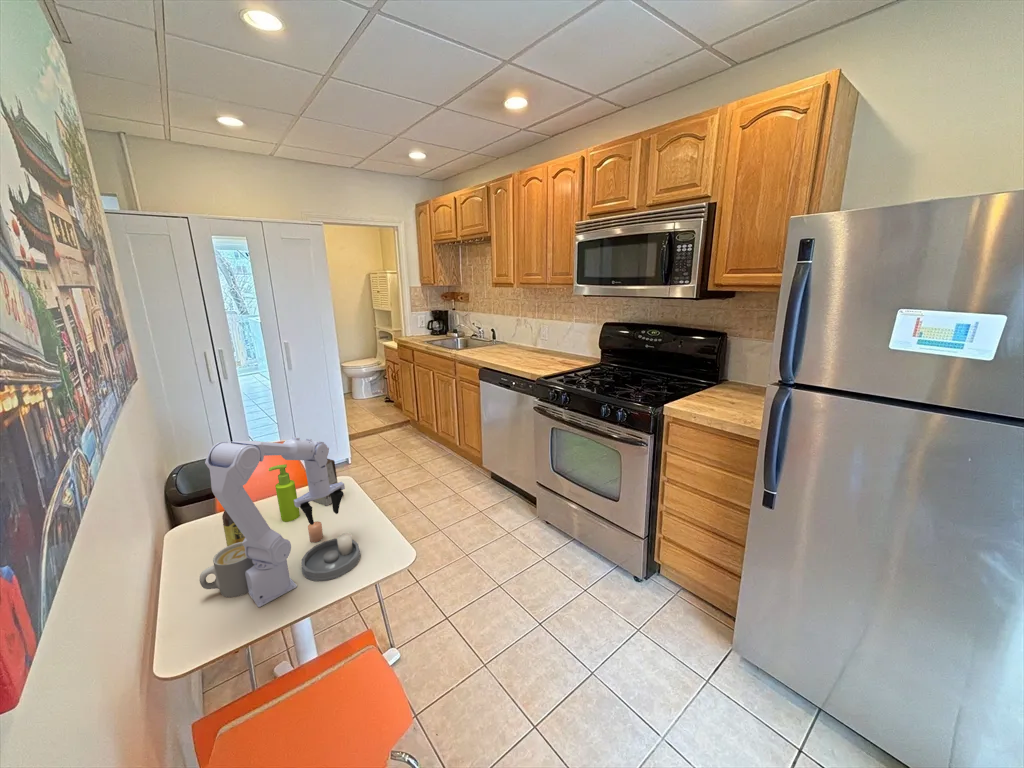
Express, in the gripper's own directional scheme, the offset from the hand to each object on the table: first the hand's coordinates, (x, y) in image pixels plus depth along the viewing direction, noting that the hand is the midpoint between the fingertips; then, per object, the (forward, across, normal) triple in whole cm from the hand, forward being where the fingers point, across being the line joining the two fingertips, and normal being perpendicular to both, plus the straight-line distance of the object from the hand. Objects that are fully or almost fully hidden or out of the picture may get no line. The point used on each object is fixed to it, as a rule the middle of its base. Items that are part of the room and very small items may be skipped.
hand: (323, 517), depth 125 cm
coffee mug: (+10, +25, -1) cm, 27 cm away
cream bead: (+8, -2, +9) cm, 13 cm away
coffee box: (+10, -11, -28) cm, 32 cm away
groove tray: (+9, +3, +9) cm, 14 cm away
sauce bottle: (+10, +19, -17) cm, 28 cm away
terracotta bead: (+9, +1, -6) cm, 11 cm away
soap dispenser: (+10, +2, -26) cm, 28 cm away
